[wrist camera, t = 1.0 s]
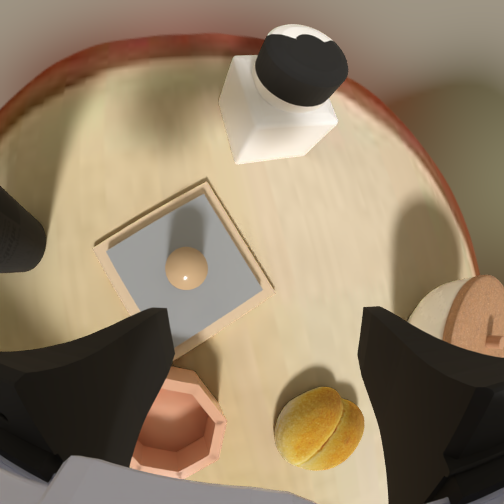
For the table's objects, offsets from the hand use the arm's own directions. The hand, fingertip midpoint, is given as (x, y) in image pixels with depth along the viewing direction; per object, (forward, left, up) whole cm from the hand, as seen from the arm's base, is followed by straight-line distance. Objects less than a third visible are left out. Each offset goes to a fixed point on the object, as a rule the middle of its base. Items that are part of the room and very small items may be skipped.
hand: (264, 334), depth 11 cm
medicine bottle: (+13, +12, -15) cm, 23 cm away
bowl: (-8, -5, -14) cm, 17 cm away
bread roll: (+2, -15, -15) cm, 21 cm away
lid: (0, +4, -14) cm, 14 cm away
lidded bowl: (+18, -16, -15) cm, 28 cm away
